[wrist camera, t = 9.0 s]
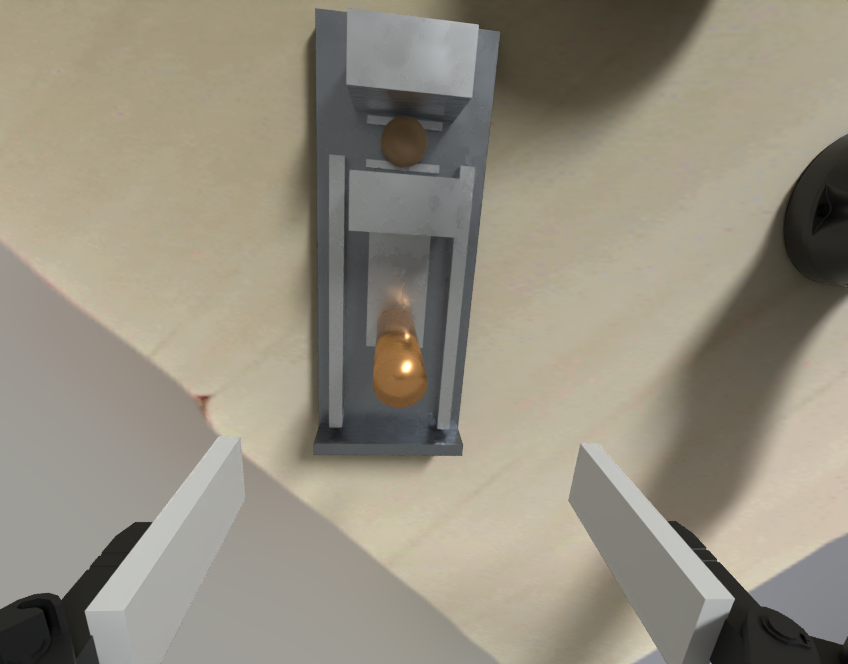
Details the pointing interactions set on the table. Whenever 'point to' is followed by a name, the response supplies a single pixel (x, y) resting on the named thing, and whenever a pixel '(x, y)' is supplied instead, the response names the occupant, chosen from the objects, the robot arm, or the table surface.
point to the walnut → (404, 141)
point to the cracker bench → (349, 250)
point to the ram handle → (399, 270)
